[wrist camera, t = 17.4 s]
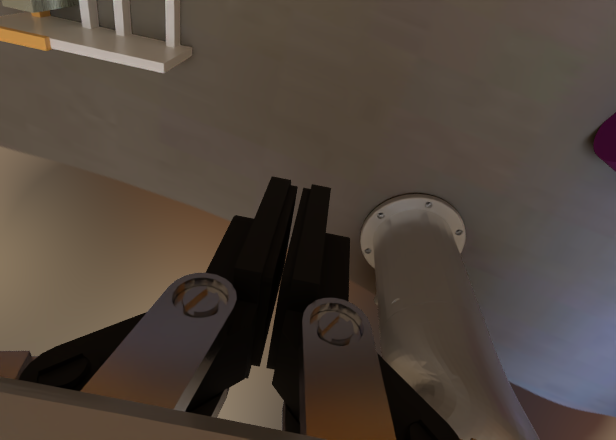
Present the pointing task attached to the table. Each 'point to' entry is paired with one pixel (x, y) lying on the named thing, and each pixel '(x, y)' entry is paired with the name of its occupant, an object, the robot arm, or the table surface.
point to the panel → (39, 4)
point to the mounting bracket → (607, 142)
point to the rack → (99, 36)
